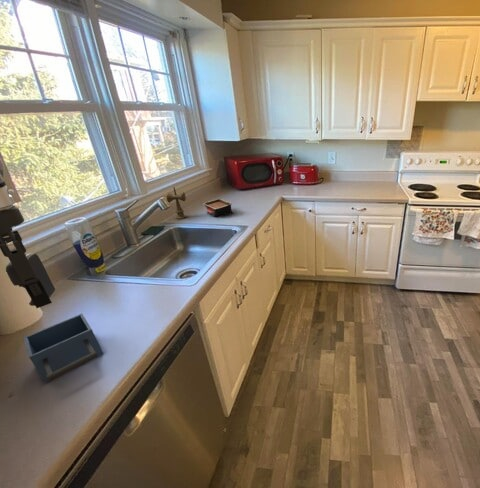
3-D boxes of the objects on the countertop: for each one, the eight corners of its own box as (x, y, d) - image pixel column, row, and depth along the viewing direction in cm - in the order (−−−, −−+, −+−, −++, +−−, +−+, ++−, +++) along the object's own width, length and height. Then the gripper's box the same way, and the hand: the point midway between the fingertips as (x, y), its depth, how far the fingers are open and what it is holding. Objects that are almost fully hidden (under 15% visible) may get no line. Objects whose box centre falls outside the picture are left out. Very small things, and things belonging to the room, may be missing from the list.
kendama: (174, 217, 176) (166, 185, 167) (190, 216, 178) (183, 185, 169) (171, 220, 171) (163, 188, 162) (188, 219, 172) (180, 187, 164)
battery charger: (37, 293, 71) (15, 253, 66) (56, 289, 72) (36, 250, 67) (24, 309, 65) (-2, 266, 60) (45, 305, 66) (22, 263, 61)
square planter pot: (214, 222, 173) (213, 207, 168) (202, 211, 183) (201, 197, 178) (235, 218, 182) (235, 204, 177) (223, 208, 192) (223, 194, 188)
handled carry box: (39, 362, 75) (23, 337, 71) (93, 337, 83) (81, 313, 79) (52, 404, 64) (34, 377, 60) (113, 370, 72) (101, 344, 68)
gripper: (23, 214, 55) (70, 307, 65) (11, 196, 67) (52, 277, 77) (-36, 225, 50) (26, 324, 60) (-37, 204, 61) (14, 290, 71)
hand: (41, 298), depth 68 cm, fingers closed on battery charger, 7 cm apart
